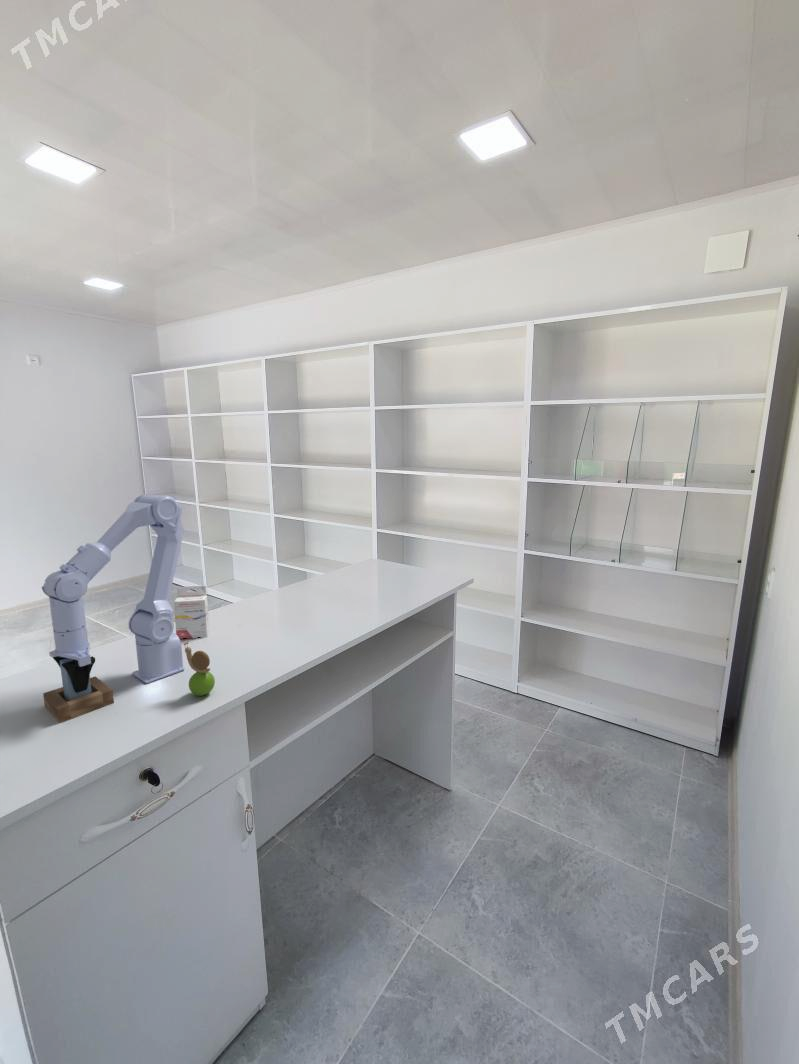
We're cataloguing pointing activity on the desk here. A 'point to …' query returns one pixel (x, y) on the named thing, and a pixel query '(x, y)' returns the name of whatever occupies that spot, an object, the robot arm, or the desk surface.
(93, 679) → the walnut collar
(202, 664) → the snail figurine
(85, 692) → the slate-blue peg
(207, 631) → the ink cartridge box
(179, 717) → the desk surface
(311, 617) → the desk surface
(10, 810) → the desk surface
